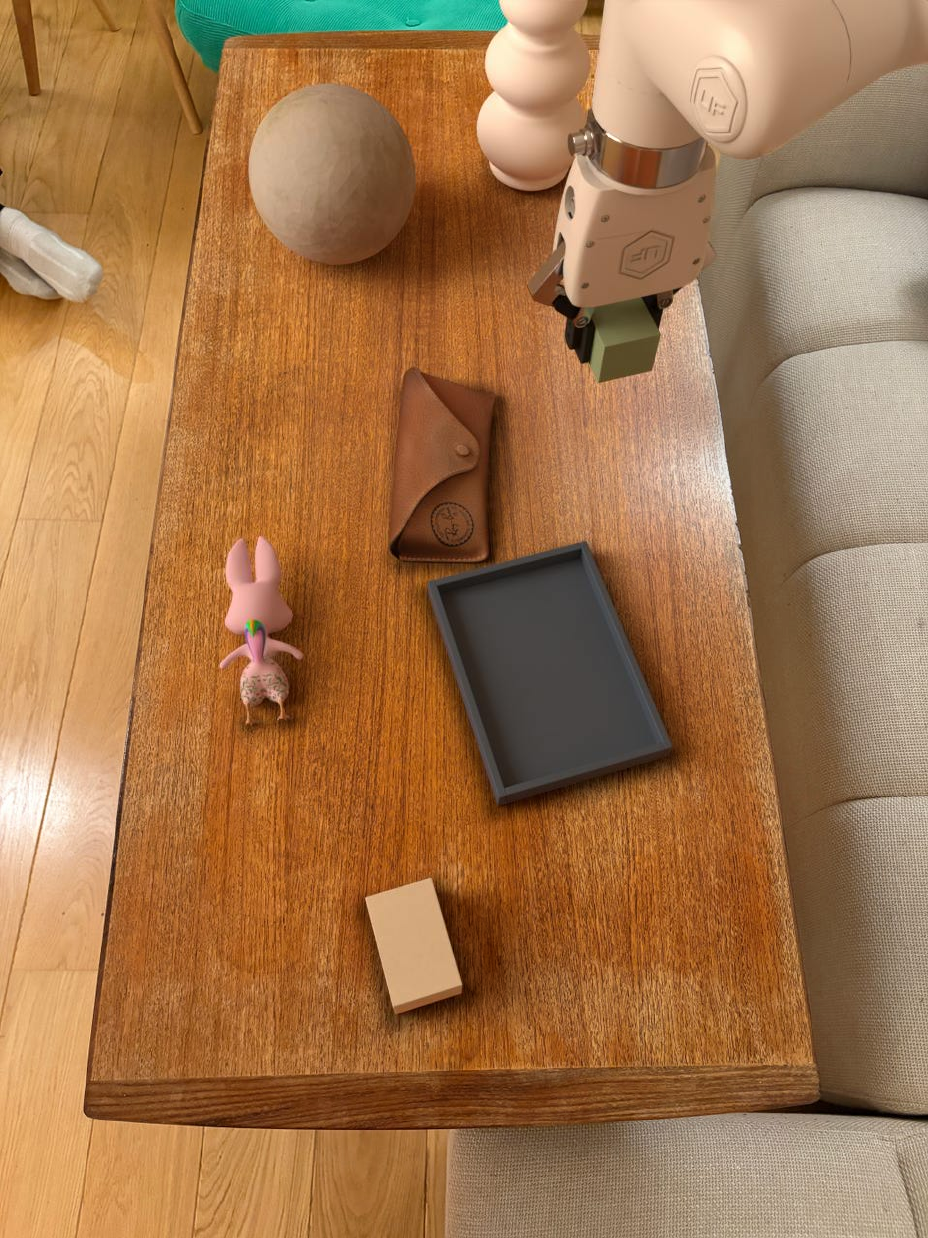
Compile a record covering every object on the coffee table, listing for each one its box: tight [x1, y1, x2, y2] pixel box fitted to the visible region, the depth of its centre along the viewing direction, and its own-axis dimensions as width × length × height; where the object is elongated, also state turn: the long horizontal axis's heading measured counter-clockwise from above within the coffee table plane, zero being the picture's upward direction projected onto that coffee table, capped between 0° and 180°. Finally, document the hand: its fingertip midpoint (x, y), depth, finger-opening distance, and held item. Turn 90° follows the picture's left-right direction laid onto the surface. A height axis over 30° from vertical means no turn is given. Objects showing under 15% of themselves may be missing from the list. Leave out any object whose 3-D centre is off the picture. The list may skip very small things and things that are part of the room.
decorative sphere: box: [247, 83, 417, 266], centre depth 91 cm, size 15×15×15 cm
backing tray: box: [427, 540, 674, 807], centre depth 76 cm, size 13×18×2 cm
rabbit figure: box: [219, 535, 304, 726], centre depth 76 cm, size 6×6×15 cm
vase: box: [476, 0, 591, 192], centre depth 92 cm, size 11×11×25 cm
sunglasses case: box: [388, 366, 497, 564], centre depth 84 cm, size 18×7×7 cm
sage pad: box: [587, 297, 662, 384], centre depth 78 cm, size 4×7×4 cm, turn 17°
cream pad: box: [365, 877, 463, 1015], centre depth 66 cm, size 4×7×4 cm, turn 17°
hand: (610, 341), depth 79 cm, fingers closed on sage pad, 4 cm apart
